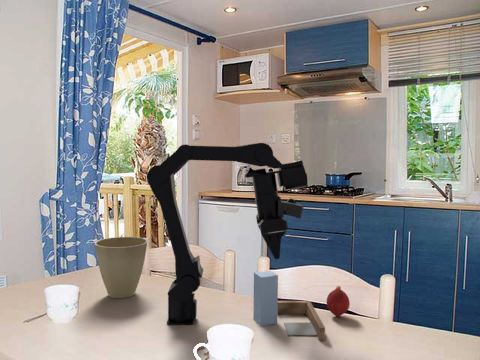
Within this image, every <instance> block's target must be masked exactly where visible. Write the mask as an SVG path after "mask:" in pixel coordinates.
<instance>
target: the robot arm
mask: <svg viewBox="0 0 480 360" xmlns="http://www.w3.org/2000/svg"><path fill="white" fill-rule="evenodd" d="M189 161H210V162H211V161H215V162H217V161H218V162H237V163H242V164H246V165H251V166H254V167H268V168H270V169H278V170H273V171H267V170H266V168H258V169H253V168H252V167H249V168H248V170H247V171H246V173H245V174H244V177H245V178H247V179H248V178H252V185H253V191H254V199H255V200H254V201H255V204H256V210H257V214H256V215H255V219H256V224H257V227H258V229H259V230H260V234H261V237H262V238H263V240H264V242H265V244H266V246H267V247H268V249H269V250H270V253H271V254H272V256H273V258H274V260H279V259H280V257H281V247H282V246H281V244H282V237H283V236H284V235H285V234H286V233H287V232H288V230H289V228H288V221H287V220H286V219H284V215H285V216H290V217H293V218H294V217H295V219H302V215H303V211H304V206H303V205H302V204H299V203H297V200H296V199H294V198H288V199H287V200H286V201H285V200H282V197H281V196H279V194H278V193H279V192H278V187H277V186H279V188H282V189H283V190H284V191H288V190H295V189H301V188H302V189H303V188H307V187H308V175H307V174H308V173H306V168H305V166H304V163H303V161H304V160H295V161H292V162H287V163H281V160H278V158H276V156H274V151H273V149H272V147H271V146H270V145H269V144H268V143H265V142H257V143H251V144H244V145H238V146H220V145H219V146H218V145H217V146H216V145H215V146H214V145H188V144H185V143H184V144H181V145H180V146H178V148H177V149H176V150H175V151H174V152H173V153H172V154H171V155H169V156H168V157H167V158H165V160H164V161H162V162H161V163H160V164H159V165H158V164H157V165H154V166H152V167H151V168H149V170H148V171H147V173H146V181H147V183H148V186H149V187H150V189H151V192H152V194H153V195H154V196H155V198H156V200H157V202H158V203H159V205H160V208H161V213H162V216H163V220H164V224H165V227H166V231H167V233H168V237H169V240H170V244H171V247H172V252H173V256H174V263H175V265H174V267H175V270H174V272H175V279H174V280H173V281H172V282H171V285H170V287H169V289H168V291H167V296H168V297H167V313H168V314H167V321H166V325H194V322H195V320H196V319H197V315H198V311H197V310H198V308H197V307H198V305H197V304H198V300H197V299H196V298H195V292H196V291H198V289H199V287H200V285H201V281H202V277H203V273H204V267H202V264H201V257H200V255H197V256H194V254H193V253H192V251H191V250H190V248H191V247H190V245H189V242H188V237H187V235H186V231H185V228H184V225H183V223H184V222H183V221H182V218H181V213H180V210H179V207H178V203H177V199H176V180H175V175H177V173H178V172H179V171H180V170H181V169H183V167H184V166H185V165H186V164H187V163H188V162H189ZM276 176H277V178H276ZM277 182H278V185H277Z"/></svg>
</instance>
